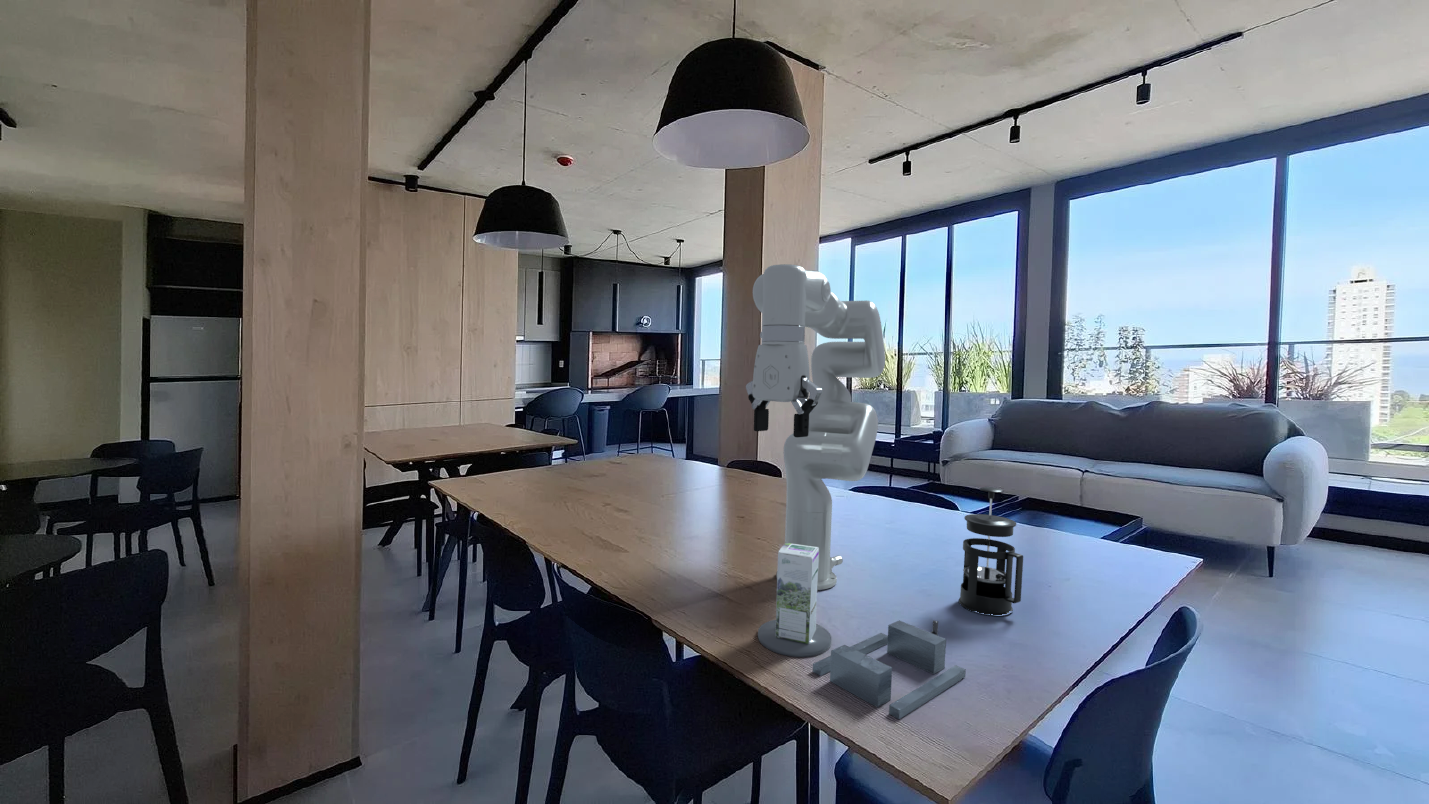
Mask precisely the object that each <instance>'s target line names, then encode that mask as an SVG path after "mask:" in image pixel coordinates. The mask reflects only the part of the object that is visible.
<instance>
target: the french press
mask: <svg viewBox="0 0 1429 804" xmlns="http://www.w3.org/2000/svg"><path fill="white" fill-rule="evenodd" d="M979 490H980V491H982V492H986V493H988V499H989V513H988V514H985V513H984V514H983V513H981V514H980V513H978V514H977V513H973V514H972V513H971V514H966V515H964V518H963V519H964V521H966V529H967V530H968V531H969V532H971V533H974V534H977V535H982V536H987V538H982V537H981V538H980V537H973V538H972V537H971V538H966V539H964V540H963V542H962V550H963V551H964V559H963V569H962V570H963V575H962V577H963V579H962V580H963V581H962V583H960V592H959V593H960V594H959V599H958V604H959V605H960V604H961V605H962V606H963V608H964V607H965V608H967V609H969V610H971V611H970V612H972V611H977V612H979V613H984V614H990V615H991V614H993V615H1002V614H1007V613H1009V611H1013V610H1014V609H1013V605H1012V604H1017V603H1020V602H1022V587H1023V585H1022V584H1023V571H1024V570H1023V569H1024V567H1023V566H1024V555H1022V554H1021V553H1017V552H1016V548H1015V547H1014V546H1013V545H1011V544H1009V543H1007V542H1004V541H999V540H996V539H991V537H996V538H1008V537H1012V536H1013V535H1014V528H1015V527H1016V526H1017V522H1016V521H1015V520H1013V519H1010V518H1008V517H1004V516H998V515H993V514H992V507H993V499H995V493H996V494H1000V493H1001V494H1002V493H1004V492H1005V490H1003V489H1002V488H998V487H993V486H984V487H980V488H979ZM972 546H973V547H972ZM974 546H987V547H986V548H987V549H986V550H984V549H983V550H982V549H979V548H976V547H974ZM990 547H994V548H996V551H990ZM980 558H984V559H986V564H985V565H986V566H980V565H979V559H980ZM1014 558H1015V560H1016V563H1015V578H1014V594H1013V592H1012V581H1013V580H1012V579H1013V563H1014V562H1013V561H1014ZM990 559H991V560H996V562H995V563H996V565H995V568H992V567H989V565H990V561H989V560H990ZM1013 595H1014V597H1013ZM961 605H960V606H961ZM962 606H961V607H962ZM965 608H964V609H965ZM967 609H966V610H967ZM969 610H968V611H969Z"/></svg>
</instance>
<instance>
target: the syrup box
mask: <svg viewBox="0 0 1429 804" xmlns="http://www.w3.org/2000/svg"><path fill="white" fill-rule="evenodd" d="M818 562H819V548H818V547H813V546H806V545H799V544H791V543H786V544H785V543H784V544H783V545H782V546H781V547H780V549H778V553H777V571H778V573H777V572H776V605H775V606H776V608H775V611H776V612H775V620H776V633H775V637H776V638H781V639H786V640H791V641H796V642H801V643H806V644H809V643H810V641H811V639H812V637H813V635H814V633H815V630H816V624H817V599H818V590H817V582H818Z"/></svg>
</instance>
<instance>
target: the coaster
mask: <svg viewBox="0 0 1429 804" xmlns="http://www.w3.org/2000/svg"><path fill="white" fill-rule="evenodd" d="M757 631H758V632H757V640H758V642H759V643H760V645H762V646H763V647H764V648H765V649H767V650H769V651H771V652H774V653H776V654H779V655H782V656H788V657H794V658H807V657H816V656H819V655H822V654H824V653H826V652H827V651H828V650H830V649H831V646H832V635H831V633H830V632H829V630H827V629H826V628H825V627H823V626H822V625H820V624H817V623H816V630H815V633H814V635H813V637H812V639H811V641H810V643H809V644H806V643H801V642H796V641H791V640H786V639H781V638H776V637H775V633H776V619H772V620H768V621H766V622H764V623H762V624H761V625H760V627H758V630H757Z"/></svg>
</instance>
